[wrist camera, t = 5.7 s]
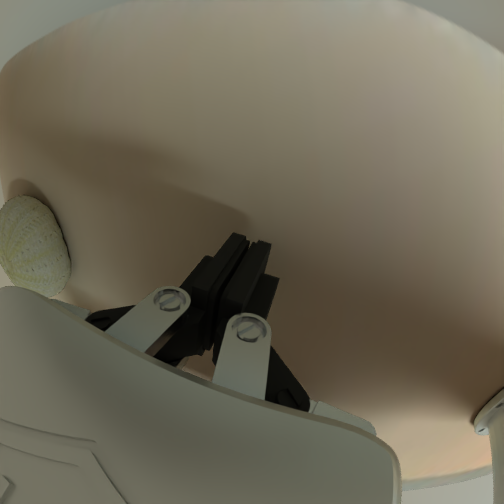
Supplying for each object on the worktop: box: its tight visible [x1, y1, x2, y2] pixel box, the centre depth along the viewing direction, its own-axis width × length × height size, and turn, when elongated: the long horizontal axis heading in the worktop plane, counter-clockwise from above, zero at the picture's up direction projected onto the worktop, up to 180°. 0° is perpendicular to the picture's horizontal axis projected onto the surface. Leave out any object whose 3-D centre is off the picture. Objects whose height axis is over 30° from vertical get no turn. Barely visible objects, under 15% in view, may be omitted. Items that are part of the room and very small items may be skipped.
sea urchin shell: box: [0, 195, 71, 298], centre depth 17 cm, size 9×8×8 cm
